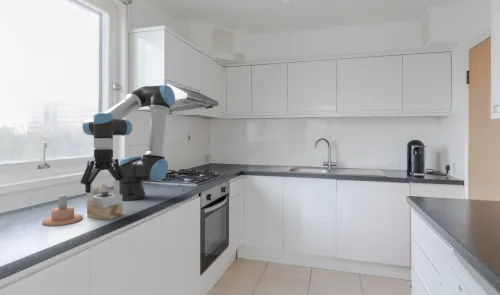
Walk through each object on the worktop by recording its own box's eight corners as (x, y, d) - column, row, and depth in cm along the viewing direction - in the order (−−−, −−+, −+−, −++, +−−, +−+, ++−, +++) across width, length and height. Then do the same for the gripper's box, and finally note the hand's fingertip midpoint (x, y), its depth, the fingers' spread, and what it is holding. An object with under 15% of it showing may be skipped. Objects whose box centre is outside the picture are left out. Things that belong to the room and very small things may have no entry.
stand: (103, 212, 136) (102, 189, 135) (122, 215, 131) (122, 191, 130) (87, 216, 128) (86, 192, 128) (107, 220, 123) (106, 195, 123)
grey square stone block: (106, 201, 136) (106, 192, 136) (122, 203, 132) (122, 194, 132) (86, 206, 127) (86, 196, 126) (103, 208, 123) (103, 198, 123)
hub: (68, 214, 132) (67, 191, 131) (90, 218, 126) (89, 193, 126) (34, 223, 119) (33, 197, 118) (57, 227, 113) (56, 200, 113)
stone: (91, 211, 138) (90, 186, 137) (86, 209, 141) (85, 185, 141) (112, 206, 146) (112, 183, 146) (107, 205, 149) (107, 182, 149)
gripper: (120, 147, 141) (120, 192, 142) (70, 149, 118) (70, 202, 119) (132, 148, 138) (132, 193, 139) (83, 149, 115) (83, 203, 116)
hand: (103, 197), depth 129 cm, fingers open, 13 cm apart
